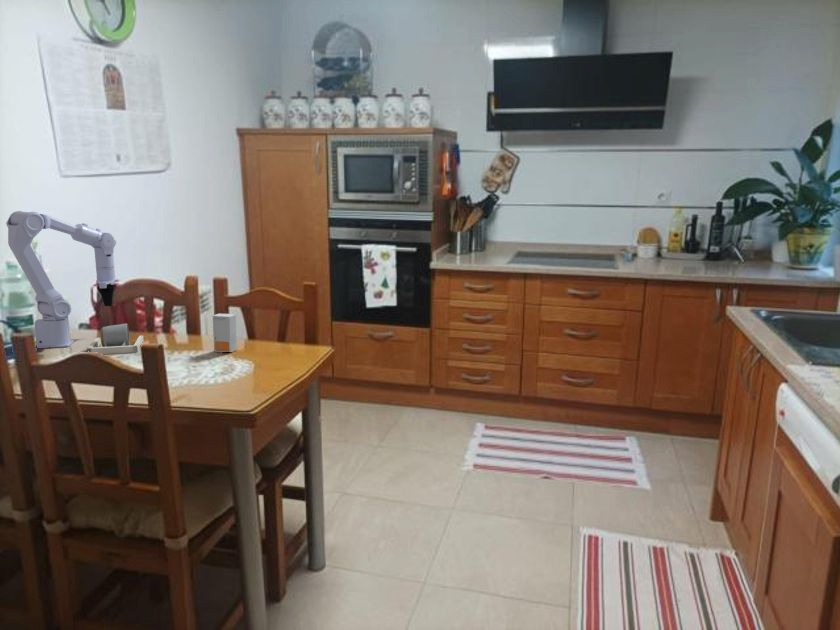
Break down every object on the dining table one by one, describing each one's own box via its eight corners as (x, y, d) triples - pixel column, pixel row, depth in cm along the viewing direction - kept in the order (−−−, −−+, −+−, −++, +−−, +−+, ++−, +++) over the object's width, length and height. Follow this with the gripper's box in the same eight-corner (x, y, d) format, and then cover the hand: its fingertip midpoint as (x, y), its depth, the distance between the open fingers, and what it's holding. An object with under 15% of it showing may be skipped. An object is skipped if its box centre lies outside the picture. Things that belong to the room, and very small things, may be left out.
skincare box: (213, 352, 201) (211, 315, 198) (220, 349, 205) (219, 313, 202) (230, 353, 199) (229, 316, 197) (237, 350, 203) (236, 314, 201)
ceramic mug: (103, 345, 207) (100, 323, 206) (130, 343, 210) (128, 321, 209) (100, 354, 198) (98, 330, 196) (129, 351, 201) (127, 328, 199)
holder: (87, 354, 196) (86, 348, 195) (96, 343, 210) (96, 337, 210) (137, 352, 200) (137, 345, 199) (143, 341, 214) (143, 335, 214)
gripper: (114, 269, 212) (117, 309, 215) (121, 264, 226) (124, 301, 229) (91, 270, 210) (94, 309, 213) (99, 265, 224) (102, 302, 227)
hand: (108, 305), depth 221 cm, fingers closed
